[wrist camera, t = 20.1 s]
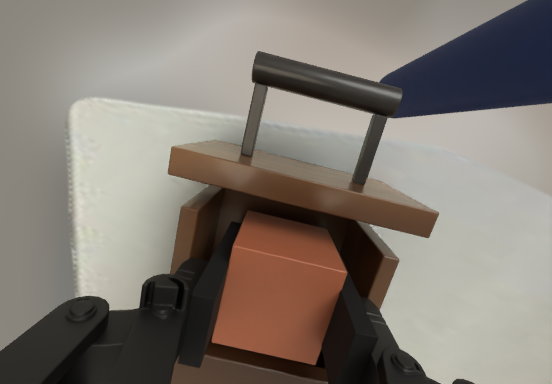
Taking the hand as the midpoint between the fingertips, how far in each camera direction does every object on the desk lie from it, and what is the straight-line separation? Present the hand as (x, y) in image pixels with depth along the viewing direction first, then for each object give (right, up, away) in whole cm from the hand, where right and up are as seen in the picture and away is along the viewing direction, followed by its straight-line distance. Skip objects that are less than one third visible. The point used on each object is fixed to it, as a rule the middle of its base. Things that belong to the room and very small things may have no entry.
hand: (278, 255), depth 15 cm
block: (0, 0, 0) cm, 0 cm away
